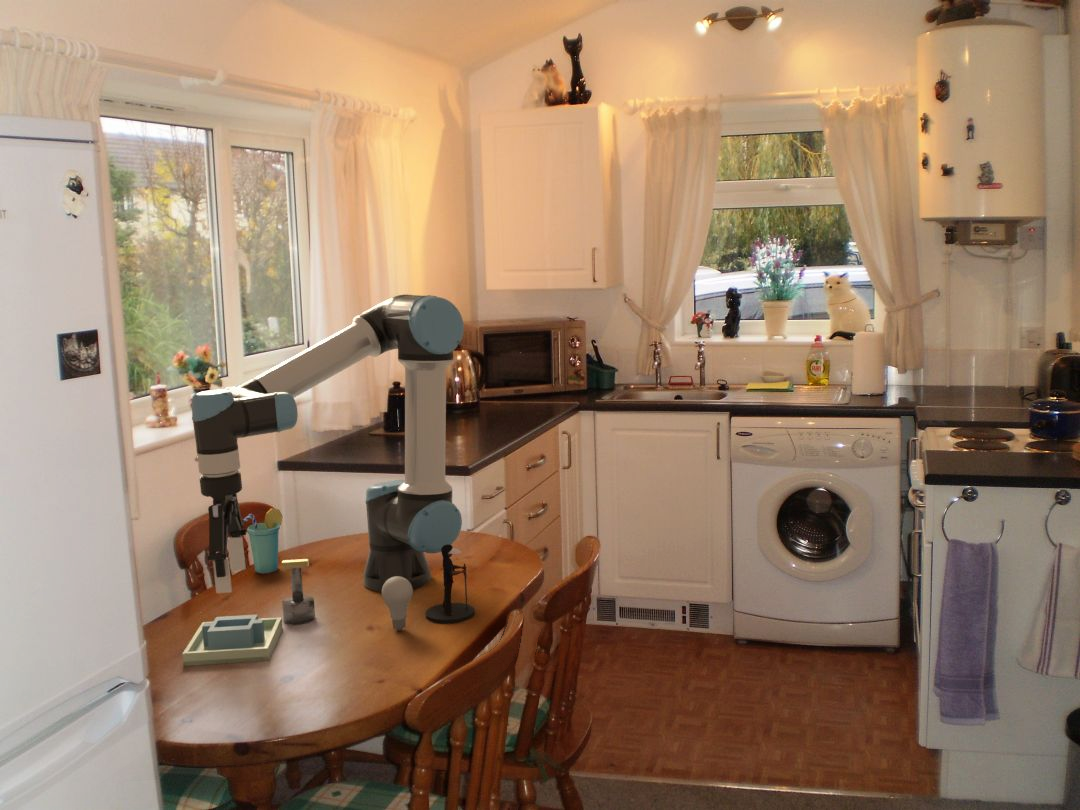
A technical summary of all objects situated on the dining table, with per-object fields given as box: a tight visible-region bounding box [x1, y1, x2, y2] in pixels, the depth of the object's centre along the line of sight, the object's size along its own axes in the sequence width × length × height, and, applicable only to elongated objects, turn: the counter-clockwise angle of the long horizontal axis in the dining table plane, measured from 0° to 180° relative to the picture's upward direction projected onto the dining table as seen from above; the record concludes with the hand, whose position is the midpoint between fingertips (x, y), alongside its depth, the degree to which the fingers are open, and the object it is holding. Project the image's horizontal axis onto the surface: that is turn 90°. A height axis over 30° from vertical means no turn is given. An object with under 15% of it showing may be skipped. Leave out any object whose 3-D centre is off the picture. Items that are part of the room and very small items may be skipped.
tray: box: [181, 616, 283, 667], centre depth 212 cm, size 16×17×2 cm
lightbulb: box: [381, 576, 414, 631], centre depth 217 cm, size 6×6×11 cm
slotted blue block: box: [202, 613, 265, 650], centre depth 212 cm, size 11×8×4 cm
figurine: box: [425, 544, 476, 625], centre depth 224 cm, size 10×10×15 cm
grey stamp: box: [281, 558, 316, 626], centre depth 225 cm, size 6×6×12 cm
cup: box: [242, 507, 283, 574], centre depth 259 cm, size 14×8×15 cm, turn 162°
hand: (231, 580), depth 211 cm, fingers open, 13 cm apart
